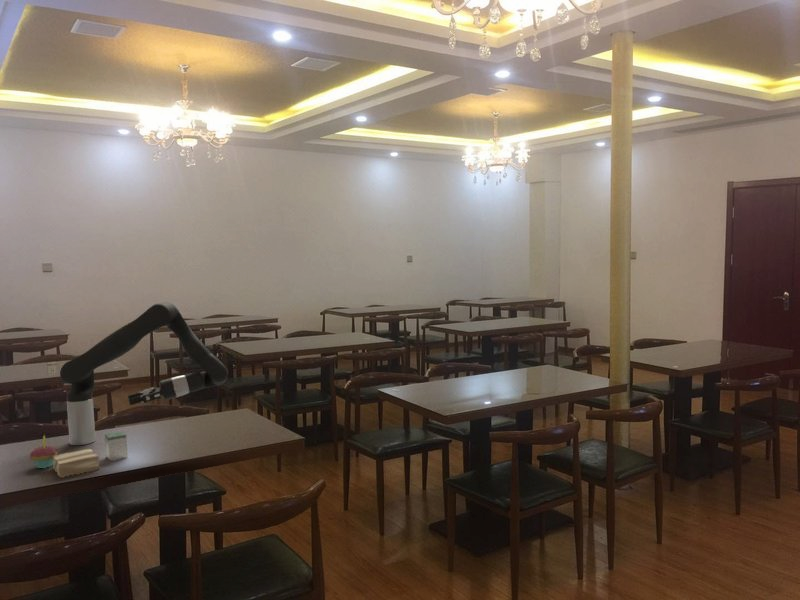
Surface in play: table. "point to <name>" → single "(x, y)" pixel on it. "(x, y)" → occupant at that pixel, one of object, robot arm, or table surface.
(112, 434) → the tea tin
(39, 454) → the cupcake
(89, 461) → the birch box
